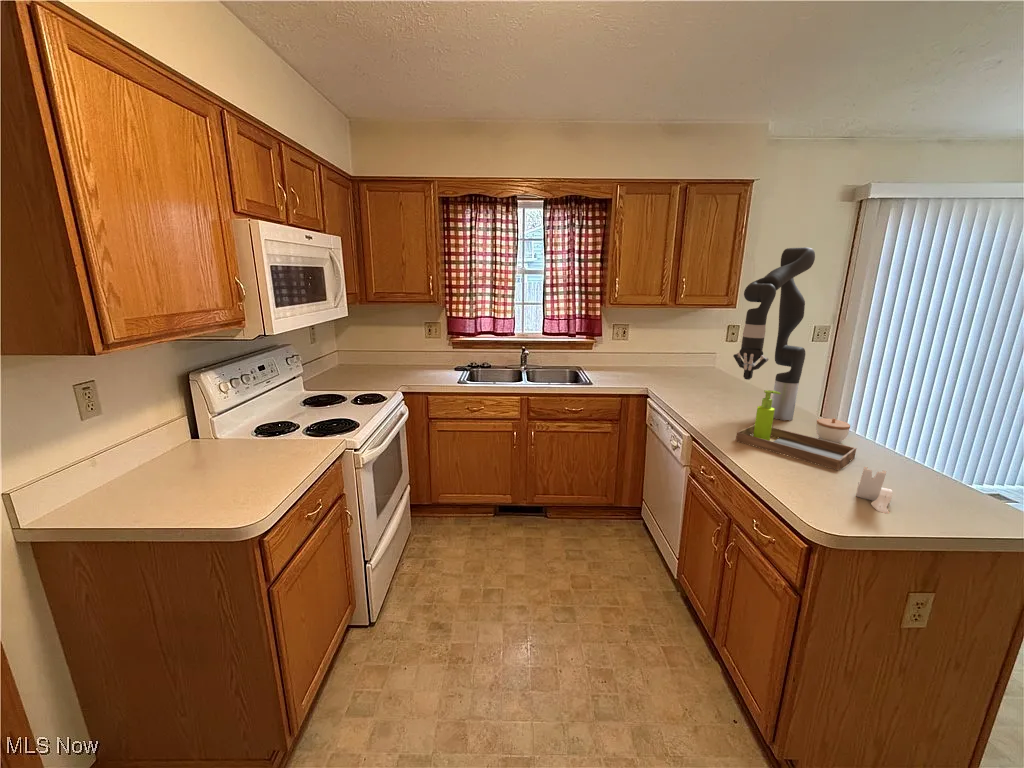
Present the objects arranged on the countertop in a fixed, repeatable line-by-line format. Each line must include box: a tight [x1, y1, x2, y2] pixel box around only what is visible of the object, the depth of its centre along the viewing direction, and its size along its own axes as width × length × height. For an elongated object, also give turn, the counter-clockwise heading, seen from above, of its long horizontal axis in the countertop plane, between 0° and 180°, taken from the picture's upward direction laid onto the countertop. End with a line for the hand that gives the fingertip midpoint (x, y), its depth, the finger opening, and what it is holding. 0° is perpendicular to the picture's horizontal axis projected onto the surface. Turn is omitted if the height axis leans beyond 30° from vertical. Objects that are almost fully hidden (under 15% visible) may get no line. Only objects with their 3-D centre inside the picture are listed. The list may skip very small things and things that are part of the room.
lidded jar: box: [815, 417, 851, 444], centre depth 172 cm, size 11×11×9 cm
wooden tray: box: [735, 423, 857, 471], centre depth 165 cm, size 18×34×4 cm, turn 39°
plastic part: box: [855, 466, 893, 515], centre depth 124 cm, size 8×10×12 cm
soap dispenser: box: [752, 389, 781, 441], centre depth 172 cm, size 6×7×20 cm
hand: (747, 379), depth 175 cm, fingers closed
